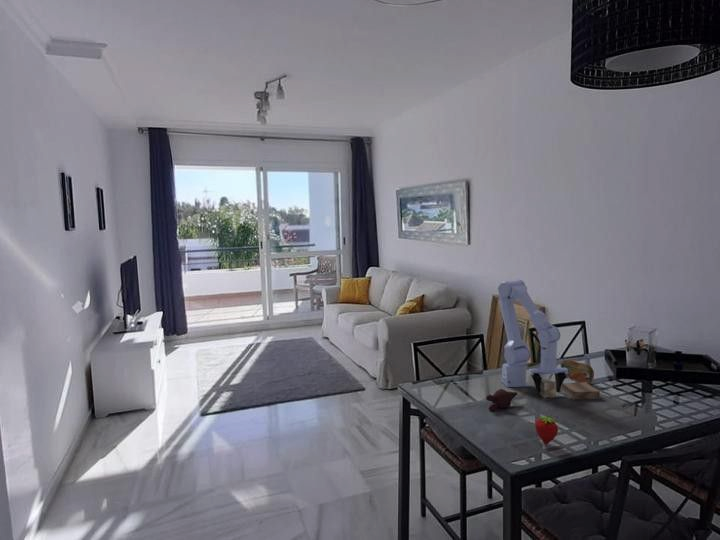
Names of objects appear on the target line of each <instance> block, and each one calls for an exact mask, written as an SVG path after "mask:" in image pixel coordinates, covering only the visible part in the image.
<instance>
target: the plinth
mask: <svg viewBox="0 0 720 540" xmlns="http://www.w3.org/2000/svg"><path fill="white" fill-rule="evenodd" d="M562 390H563V391H564V392H565V393H564V394H566V395H567V394H568V395H569V396H568V395H567V396H568V397H569V398H571V397H572V398H573V399H572V398H571V399H572V400H574V399H580V400H600V395H601V394H600V392H601V391H600V390H598V389H597V388H595V387H594V386H593V385H591V384H589V383H579V382H563V383H562V385H561V391H562ZM563 391H562V392H563Z"/></svg>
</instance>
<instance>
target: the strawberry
mask: <svg viewBox="0 0 720 540" xmlns="http://www.w3.org/2000/svg"><path fill="white" fill-rule="evenodd" d="M549 415H550V413H548V414H547V416H546V415H545V416H543V415H542V416H540V415H539V417H540V418H537V419H536V420H535V423H534V427H535V432H536V433H537V435H538V437H539V438H540V439H541V441H542V443H543V444H544V445H548V444H549V443H551V442H552V441H554V439H555V438H556V437H557V435H558V432H559V429H558V427H559V426H558V425H557V423H556V421H555V420H556V418H552V417H549Z"/></svg>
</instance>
